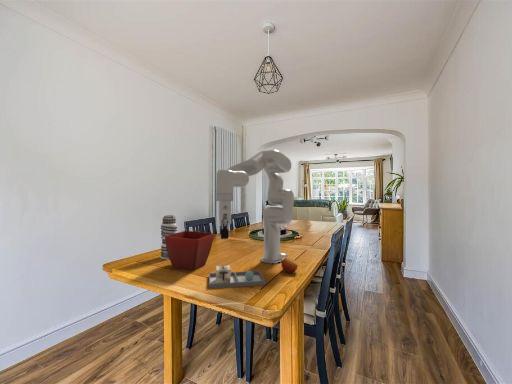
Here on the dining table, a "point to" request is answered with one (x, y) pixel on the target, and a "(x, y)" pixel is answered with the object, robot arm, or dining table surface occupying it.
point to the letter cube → (223, 274)
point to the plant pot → (189, 249)
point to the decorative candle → (167, 232)
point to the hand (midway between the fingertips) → (223, 236)
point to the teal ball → (249, 275)
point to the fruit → (289, 265)
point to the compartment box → (237, 280)
